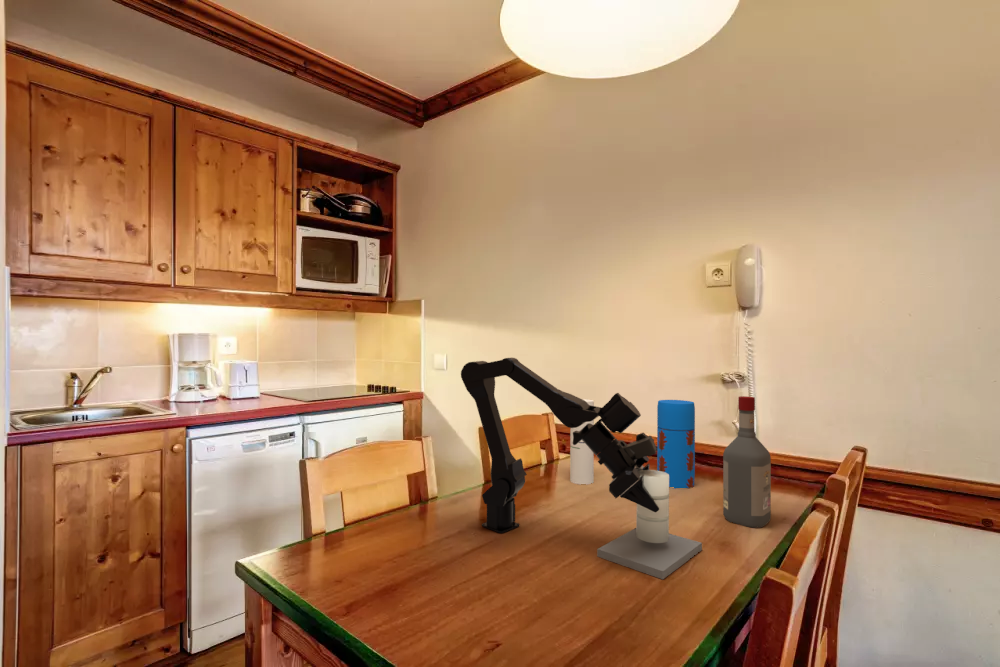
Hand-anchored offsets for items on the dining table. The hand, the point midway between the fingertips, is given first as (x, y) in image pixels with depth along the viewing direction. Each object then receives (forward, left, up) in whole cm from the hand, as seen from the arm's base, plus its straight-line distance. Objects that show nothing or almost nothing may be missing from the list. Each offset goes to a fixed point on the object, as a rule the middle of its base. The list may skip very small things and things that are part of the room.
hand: (659, 505), depth 103 cm
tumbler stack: (0, +1, -7) cm, 7 cm away
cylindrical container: (+33, +41, -10) cm, 53 cm away
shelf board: (-1, +1, -10) cm, 10 cm away
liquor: (+33, -7, -10) cm, 35 cm away
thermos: (+51, +19, -10) cm, 55 cm away
